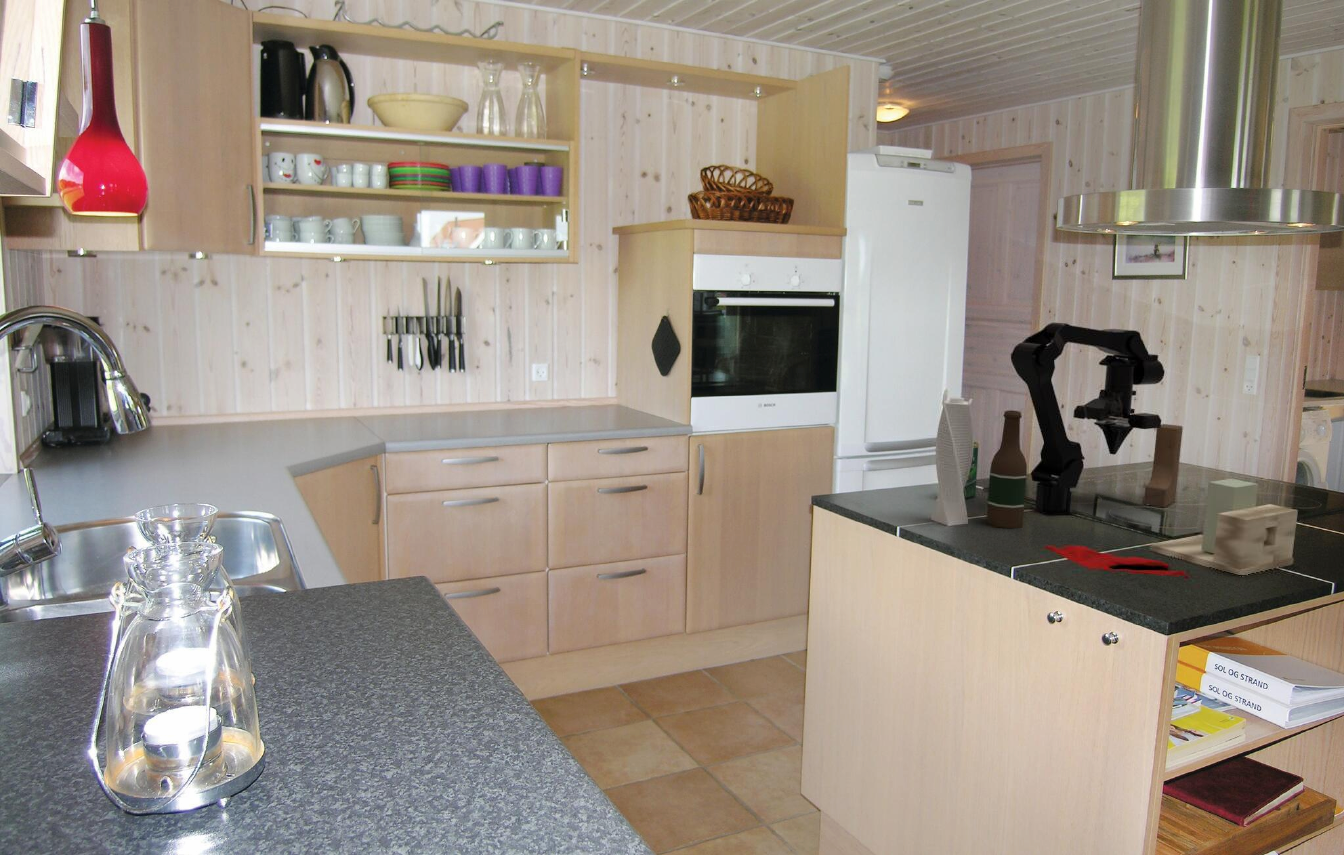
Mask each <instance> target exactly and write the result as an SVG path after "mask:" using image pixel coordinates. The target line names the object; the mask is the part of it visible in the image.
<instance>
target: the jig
mask: <svg viewBox="0 0 1344 855" xmlns="http://www.w3.org/2000/svg"><path fill="white" fill-rule="evenodd" d="M1298 512H1299V511H1298V509H1293V508H1289V507H1285V506H1279V505H1275V504H1270V503H1269V504H1265V505H1258V506H1257V505H1256V506H1255V507H1252V508H1246V509H1240V510H1235V511H1229V512H1224V513H1218V521H1217V530H1216V539H1215V548H1214V553H1211V552H1207V551H1203V550H1201V548H1202V539H1203V534H1198V535H1193V536H1187V537H1182V538H1178V539H1172V540H1167V541H1163V542H1162V541H1161V542H1157V543H1151V544H1150V547H1149V551H1150V552H1153V553H1157V554H1161V555H1163V556H1168V557H1171V556H1172V558H1174V557H1175V558H1174V559H1178V558H1179V560H1181V559H1182V561H1185V560H1186V562H1188V563H1192V564H1196V565H1200V566H1203V567H1206V568H1209V567H1212V568H1211V569H1213V568H1215V569H1214V570H1216V569H1219V570H1218V571H1220V570H1222V571H1221V572H1223V571H1227V572H1230V573H1234V574H1237V575H1247V576H1249V575H1248V574H1251V573H1255V574H1257V573H1256V572H1259V573H1261V572H1260V571H1263V572H1266V571H1265V570H1268V569H1272V570H1275V569H1274V568H1276V569H1278V568H1277V567H1280V568H1284V566H1285V567H1288V566H1292V564H1293V565H1294V557H1293V553H1294V552H1293V551H1294V543H1295V535H1296V529H1297V528H1296V527H1297V522H1298V521H1297V519H1298ZM1265 529H1267V531H1268V536H1267V539H1266V540H1265V541H1264V536H1265ZM1268 571H1269V570H1268ZM1227 572H1226V573H1227ZM1230 573H1229V574H1230ZM1234 574H1233V575H1234ZM1237 575H1236V576H1237ZM1251 575H1252V574H1251Z"/></svg>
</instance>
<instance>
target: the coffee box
mask: <svg viewBox="0 0 1344 855" xmlns="http://www.w3.org/2000/svg"><path fill="white" fill-rule="evenodd" d="M978 457H979V442H975V441H974V448H973V456H972V462H971V467H970V471H969V475H968V478H967V481H966V484H965V487H964V490H963V492H964V498H965V500H966V499H972V498H976V494H977V479H978V478H977V476H978V475H977V474H978V460H979V459H978Z"/></svg>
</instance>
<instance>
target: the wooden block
mask: <svg viewBox="0 0 1344 855" xmlns="http://www.w3.org/2000/svg"><path fill="white" fill-rule="evenodd" d="M1183 429H1184V427H1183V426H1182V425H1178V424H1177V425H1176V424H1165V423H1163V424H1162V423H1161V428H1156V434H1155V443H1154V453H1153V454H1154V455H1153V462H1152V472H1151V476H1150V479H1149V482H1148V483H1147V484H1146V485H1145V487H1144V488H1145V489H1144V498H1143V504H1144V505H1145V504H1149V505H1153V506H1152V507H1155V506H1159V507H1158V508H1162V507H1163V509H1165V508H1166V507H1168V506H1169V505H1171V504H1172V503H1175V501H1176V495H1177V485H1178V478H1179V468H1180V467H1179V466H1180V457H1181V447H1182V438H1183ZM1149 505H1148V506H1149Z"/></svg>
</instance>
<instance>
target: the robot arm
mask: <svg viewBox="0 0 1344 855" xmlns="http://www.w3.org/2000/svg"><path fill="white" fill-rule="evenodd" d="M1067 343H1070V344H1076V345H1082V346H1088V347H1094V348H1096V349H1098V350H1099V351H1101V352H1103V353H1106V356H1105V357H1104V358H1102V359H1101V360H1100V361H1099V362H1098V364H1099V366H1104V367H1105V380H1104V389H1100V391H1099V394H1098V397H1096V398H1094V399H1092V400H1090V401H1088V402H1087V403H1085V404H1081V405H1080V404H1079V405H1076V407H1075V408H1074V409H1073V416H1072V417H1073V418H1074V419H1081V420H1085V419H1086V420H1095V422H1093V424H1094V425H1095V426H1097V427H1099V428H1100V430H1102V432H1103V435H1104V439H1105V442H1106V445H1107V449H1108V452H1109V454H1110V455H1116V454H1117V452H1118V451H1119V449H1120V448H1121V446H1122V445H1123V443H1124V441H1125V440H1126V438H1127V437H1128V436H1129V434H1130V433H1131V432H1132V431H1133V429H1139V430H1150V429H1157V428H1161V425H1162V419H1161V417H1160V415H1159V414H1153V413H1148V412H1140V413H1135V410H1136V409H1135V408H1132V400H1133V397H1134V396H1136V395H1137V390H1134V386H1141V385H1142V386H1143V385H1157V384H1159V383H1160V382H1162V380H1163V379H1164V376H1165V369H1164V366H1163V364H1162V362H1161V361H1159V355H1158V354H1153V353H1151V354H1150V353H1149V351H1148V349H1147V347H1146V345H1145V343H1144V341H1143V339H1142V336H1141V333H1140V332H1139V331H1138V330H1133V329H1121V328H1120V329H1119V328H1118V329H1117V328H1108V329H1097V328H1096V329H1095V328H1091V327H1090V328H1089V327H1083V326H1077V325H1071V324H1069V323H1065V322H1051V323H1049V324H1047V325H1045V327H1043V328H1042V329H1041V330H1039V331H1037V332H1035V333H1034V334H1031V335H1030V336H1028V337H1027V338H1025V339H1024V340H1023V341H1022V342H1020V343H1017V345H1015V347H1014V348H1013V350H1012V352H1011V353H1010V360H1011V361H1010V362H1011V364H1012V366H1013V368H1014V371H1015V372H1016V374H1017V375H1018V376H1019V377H1020V379H1022V381H1023V382H1024V383H1025V384H1026V386H1027V388H1028V392H1029V395H1030V399H1031V403H1032V406H1033V409H1034V413H1035V416H1036V420H1037V423H1038V427H1039V430H1040V433H1041V437H1042V440H1043V444H1042V448H1041V450H1040V454H1039V455H1040V461H1039V462H1038V464H1036V466H1035V467H1034V468H1033V469H1032V471H1030V475H1031V476H1030V477H1031V481H1033V482H1037V483H1036V493H1035V505H1031V506H1030V507H1031V509H1033V510H1036V511H1037V512H1039V513H1042V514H1044V515H1054V516H1055V515H1072V514H1073V511H1072V510H1071V504H1072V491H1071V489H1073V488H1077V485H1078V484H1079V480H1080V477H1081V475H1082V472H1083V470H1084V460H1085V459H1086V458H1085V456H1084V454H1083V452H1082V446H1081V444H1080V442H1077V441H1072V440H1070V439H1069V438H1068V435H1067V432H1066V427H1065V424H1064V421H1063V417H1062V413H1061V410H1060V406H1059V403H1058V399H1057V395H1056V393H1055V388H1054V385H1053V382H1052V378H1053V376H1054V373H1055V369H1056V365H1055V364H1056V363H1055V360H1057V359H1058V358H1059V357H1060V356H1061V355H1062V354H1063V352H1064V348H1065V346H1066V344H1067Z"/></svg>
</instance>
